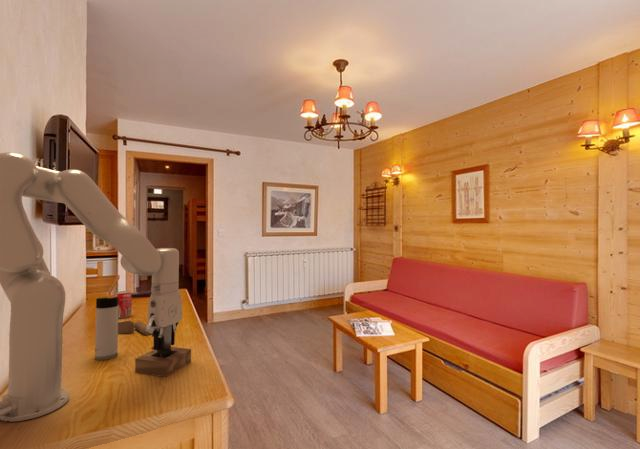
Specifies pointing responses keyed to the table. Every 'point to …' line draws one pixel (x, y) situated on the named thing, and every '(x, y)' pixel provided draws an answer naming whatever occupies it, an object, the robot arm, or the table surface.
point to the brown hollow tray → (162, 362)
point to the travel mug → (106, 328)
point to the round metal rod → (166, 342)
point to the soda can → (124, 304)
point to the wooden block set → (131, 327)
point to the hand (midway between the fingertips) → (164, 346)
